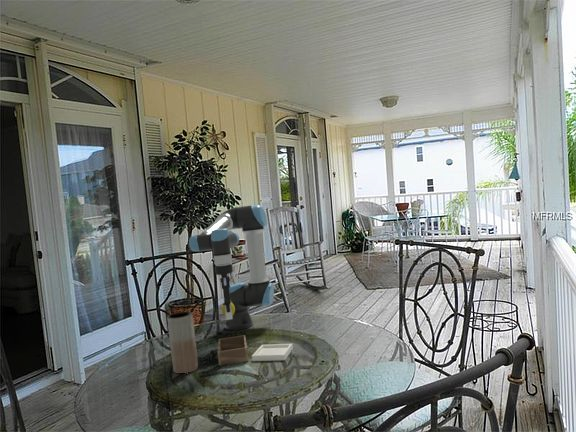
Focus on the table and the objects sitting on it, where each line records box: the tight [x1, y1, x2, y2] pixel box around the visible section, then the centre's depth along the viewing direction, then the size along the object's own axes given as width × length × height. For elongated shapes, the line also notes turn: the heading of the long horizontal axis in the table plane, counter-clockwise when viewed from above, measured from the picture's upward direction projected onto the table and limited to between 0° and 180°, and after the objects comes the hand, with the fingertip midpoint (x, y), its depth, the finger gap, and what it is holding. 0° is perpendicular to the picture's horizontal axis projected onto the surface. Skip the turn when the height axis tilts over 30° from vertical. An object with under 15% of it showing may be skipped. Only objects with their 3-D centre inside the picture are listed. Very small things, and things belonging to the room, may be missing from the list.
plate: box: [251, 343, 294, 362], centre depth 186 cm, size 14×14×2 cm
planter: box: [166, 311, 199, 374], centre depth 179 cm, size 10×10×23 cm
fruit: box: [221, 302, 235, 317], centre depth 190 cm, size 6×6×8 cm
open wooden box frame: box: [217, 334, 249, 366], centre depth 190 cm, size 20×12×6 cm, turn 8°
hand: (229, 317), depth 190 cm, fingers closed on fruit, 6 cm apart
